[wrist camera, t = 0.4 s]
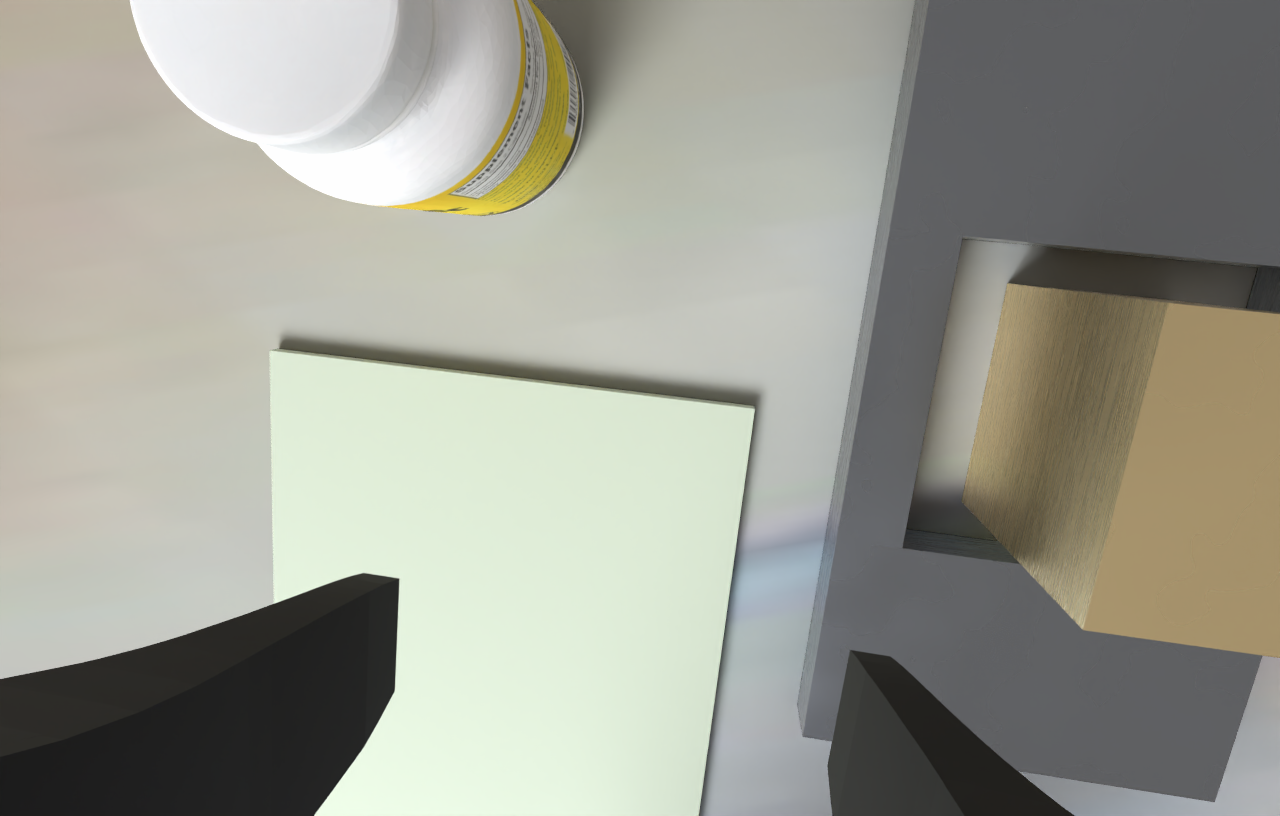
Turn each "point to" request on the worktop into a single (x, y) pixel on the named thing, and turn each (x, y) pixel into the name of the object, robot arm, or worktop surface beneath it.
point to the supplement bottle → (381, 93)
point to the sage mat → (517, 578)
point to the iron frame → (914, 328)
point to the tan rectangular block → (1137, 463)
